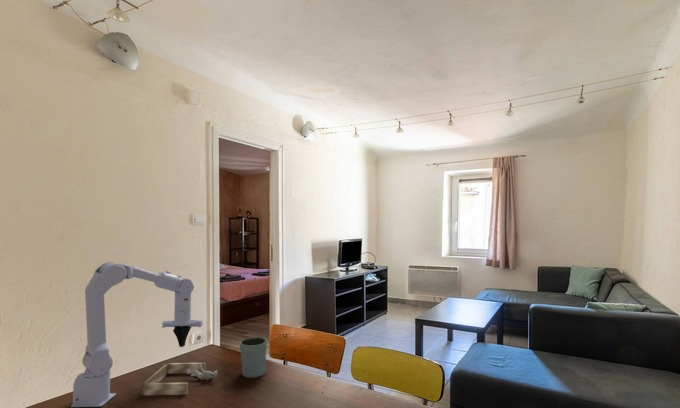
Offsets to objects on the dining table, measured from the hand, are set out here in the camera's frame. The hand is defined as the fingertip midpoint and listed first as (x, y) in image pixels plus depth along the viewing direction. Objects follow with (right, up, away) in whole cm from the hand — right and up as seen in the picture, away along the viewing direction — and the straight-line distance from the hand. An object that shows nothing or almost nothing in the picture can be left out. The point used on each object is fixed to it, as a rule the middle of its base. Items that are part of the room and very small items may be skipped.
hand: (182, 346), depth 137 cm
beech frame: (+2, -10, -8) cm, 13 cm away
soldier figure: (+10, -11, -5) cm, 15 cm away
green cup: (+27, -11, 0) cm, 29 cm away
